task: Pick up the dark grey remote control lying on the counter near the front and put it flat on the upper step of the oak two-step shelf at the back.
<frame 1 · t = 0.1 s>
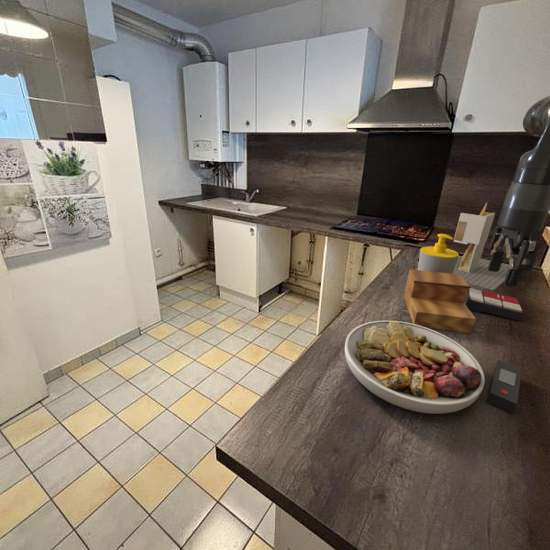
hand: (500, 277, 66), 23 cm above the worktop, tool pointing down, fingers open, 8 cm apart
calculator: (490, 308, 101), on the worktop
remote: (502, 389, 66), on the worktop
white desk organizer: (462, 266, 138), on the worktop
soap bottle: (430, 286, 117), on the worktop
shelf: (433, 313, 97), on the worktop
bowl: (405, 371, 71), on the worktop
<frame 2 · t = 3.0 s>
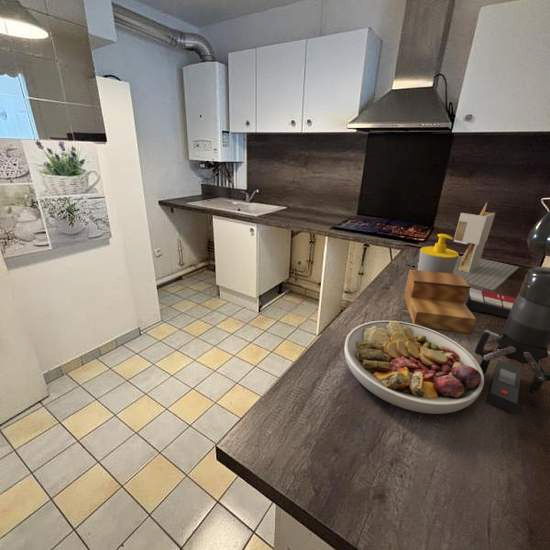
hand: (506, 380, 65), 2 cm above the worktop, tool pointing down, fingers open, 8 cm apart
bowl: (405, 371, 71), on the worktop, touching gripper
everything else where it was.
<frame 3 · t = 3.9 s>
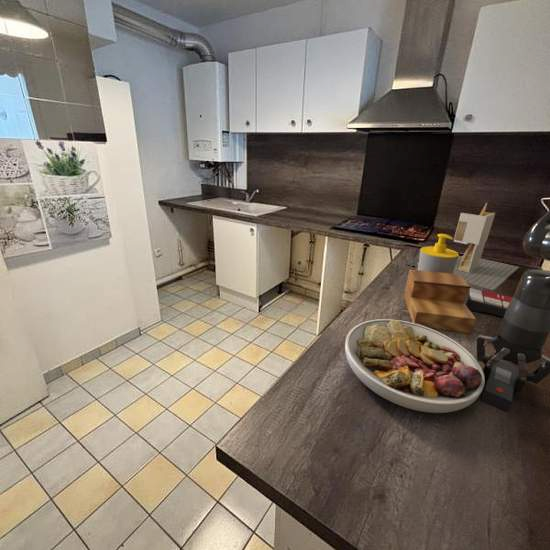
hand: (499, 384, 66), 1 cm above the worktop, tool pointing down, fingers closed on remote, 4 cm apart
remote: (498, 387, 66), on the worktop, touching gripper
bowl: (405, 369, 71), on the worktop, touching gripper, hand
everything else where it was.
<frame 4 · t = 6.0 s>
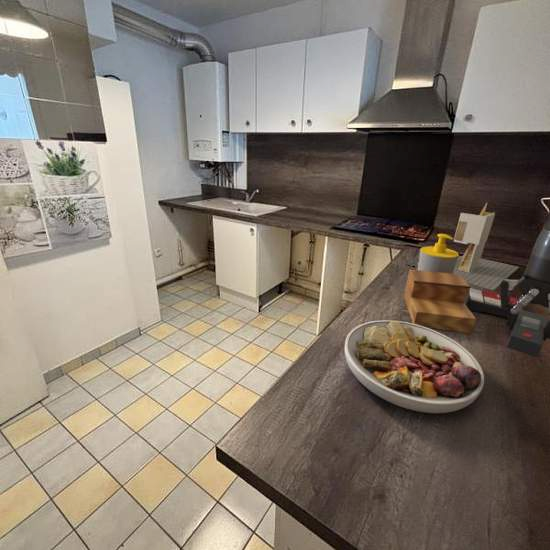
hand: (526, 332, 60), 15 cm above the worktop, tool pointing down, fingers closed on remote, 4 cm apart
remote: (525, 336, 60), point 14 cm above the worktop, touching gripper
bowl: (405, 370, 71), on the worktop
everything else where it was.
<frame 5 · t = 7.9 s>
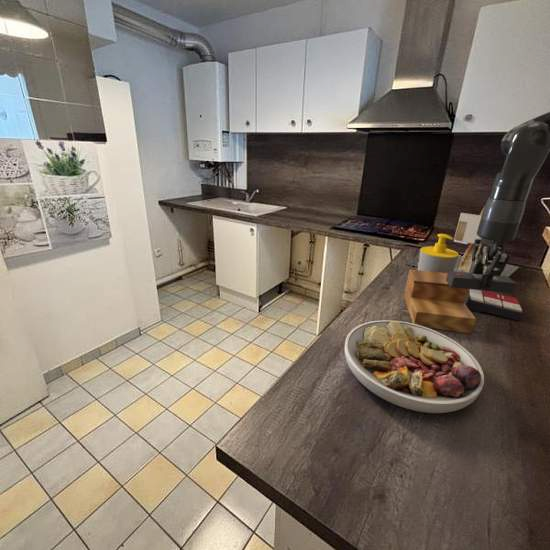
hand: (479, 283, 75), 18 cm above the worktop, tool pointing down, fingers closed on remote, 4 cm apart
remote: (477, 286, 75), point 17 cm above the worktop, touching gripper
everything else where it was.
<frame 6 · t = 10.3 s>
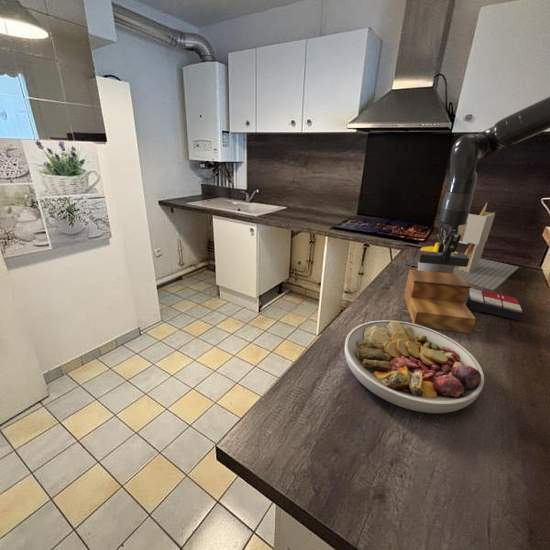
hand: (442, 260, 95), 17 cm above the worktop, tool pointing down, fingers closed on remote, 4 cm apart
remote: (440, 262, 95), point 16 cm above the worktop, touching gripper
everything else where it was.
when the fingers open (12 cm above the worktop, at t = 11.9 s): remote stays where it is, resting on shelf.
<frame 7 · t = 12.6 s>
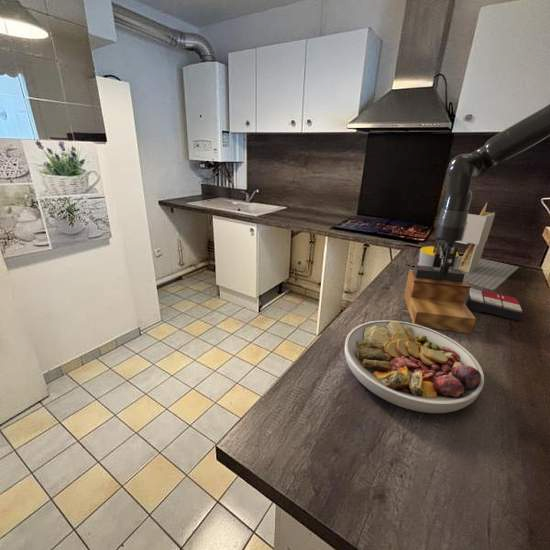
hand: (439, 272, 96), 13 cm above the worktop, tool pointing down, fingers open, 8 cm apart
remote: (436, 277, 97), point 11 cm above the worktop, touching shelf
everything else where it was.
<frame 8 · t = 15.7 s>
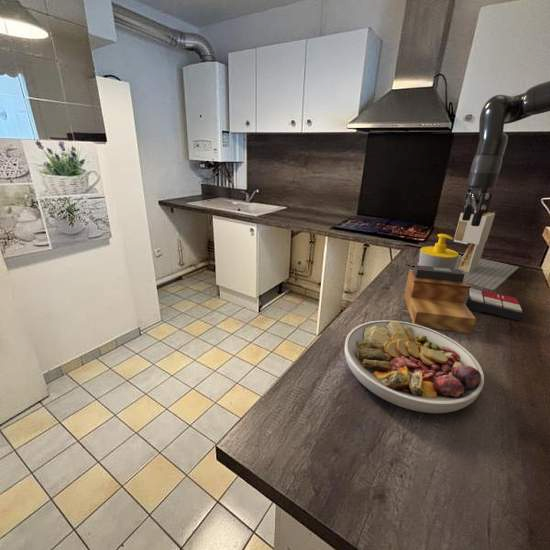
hand: (470, 223, 96), 28 cm above the worktop, tool pointing down, fingers open, 8 cm apart
nothing on the worktop moved.
at the end: remote inside the target area on the shelf (0.2 cm from its centre), point 11.0 cm above the shelf's base; remote tilted 0°; the gripper is holding nothing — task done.
